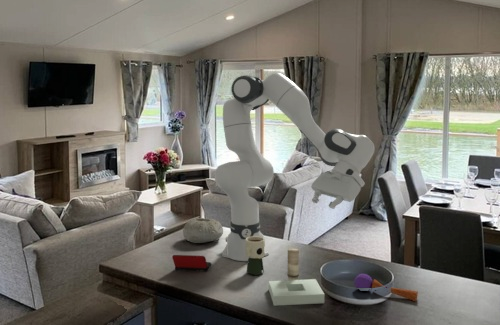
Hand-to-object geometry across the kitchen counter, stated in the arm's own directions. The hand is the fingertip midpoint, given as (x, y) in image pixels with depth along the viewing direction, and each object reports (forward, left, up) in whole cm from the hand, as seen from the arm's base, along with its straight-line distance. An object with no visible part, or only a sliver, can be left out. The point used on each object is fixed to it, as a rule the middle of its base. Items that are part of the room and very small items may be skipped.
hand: (322, 204), depth 166 cm
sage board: (+15, -12, -26) cm, 33 cm away
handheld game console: (-13, -46, -27) cm, 55 cm away
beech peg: (+5, -11, -26) cm, 29 cm away
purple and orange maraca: (+17, +17, -27) cm, 36 cm away
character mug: (-6, -23, -27) cm, 36 cm away
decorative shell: (-46, -42, -27) cm, 68 cm away
